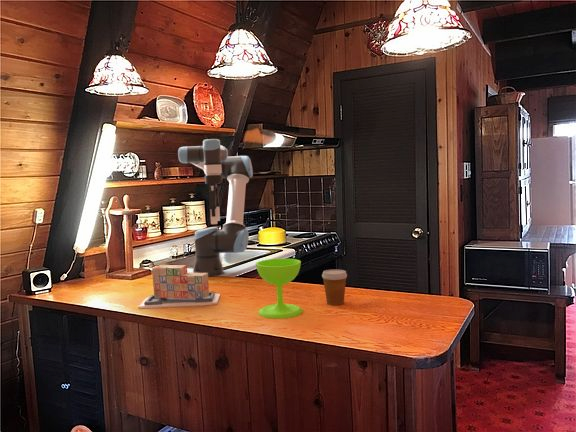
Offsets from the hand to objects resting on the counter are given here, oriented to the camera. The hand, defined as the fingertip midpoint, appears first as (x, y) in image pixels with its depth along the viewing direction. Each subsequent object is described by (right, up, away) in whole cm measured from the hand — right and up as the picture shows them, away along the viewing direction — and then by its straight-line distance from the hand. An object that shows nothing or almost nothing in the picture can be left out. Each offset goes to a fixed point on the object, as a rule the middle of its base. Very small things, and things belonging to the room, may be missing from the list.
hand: (215, 222), depth 221 cm
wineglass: (+29, -32, -43) cm, 61 cm away
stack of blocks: (-10, -30, -23) cm, 39 cm away
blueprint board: (-11, -31, -23) cm, 40 cm away
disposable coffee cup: (+50, -30, -34) cm, 68 cm away
